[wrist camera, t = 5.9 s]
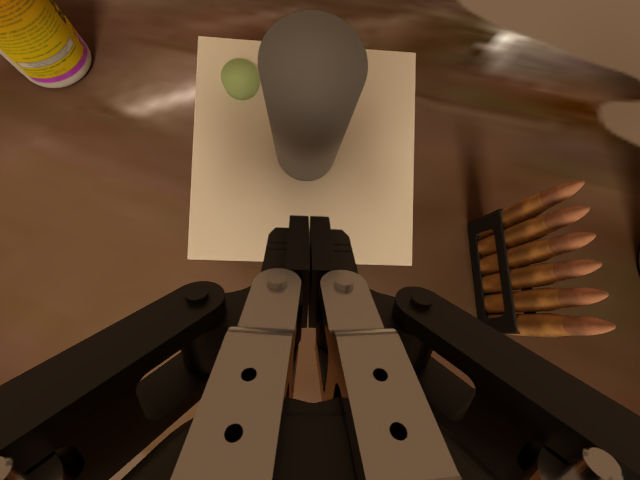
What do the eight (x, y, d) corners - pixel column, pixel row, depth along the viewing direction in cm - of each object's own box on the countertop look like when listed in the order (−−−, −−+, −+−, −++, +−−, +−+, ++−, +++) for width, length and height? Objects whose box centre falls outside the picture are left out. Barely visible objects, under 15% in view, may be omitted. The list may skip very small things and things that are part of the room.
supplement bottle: (108, 60, 33) (-5, -96, 21) (59, 102, 31) (-96, -40, 19) (61, 27, 34) (-76, -145, 21) (10, 67, 32) (-171, -94, 19)
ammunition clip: (467, 223, 31) (566, 167, 20) (484, 224, 32) (594, 168, 20) (479, 334, 29) (602, 344, 17) (498, 334, 29) (634, 344, 17)
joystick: (409, 63, 23) (512, -111, 12) (405, 265, 23) (510, 276, 12) (203, 47, 22) (109, -158, 11) (193, 258, 22) (82, 265, 10)
